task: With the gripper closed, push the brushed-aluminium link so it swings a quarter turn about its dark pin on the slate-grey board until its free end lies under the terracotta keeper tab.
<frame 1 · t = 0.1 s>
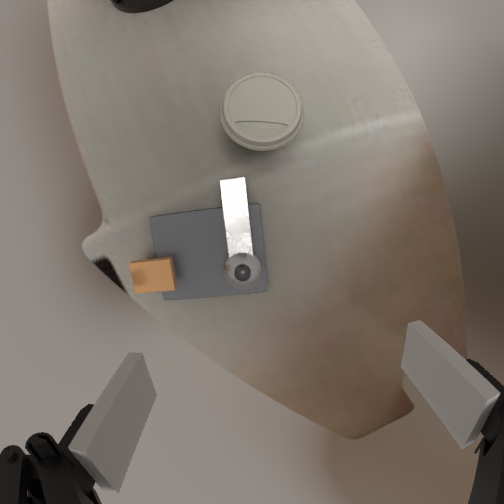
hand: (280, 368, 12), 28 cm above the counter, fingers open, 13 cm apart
coffee cup: (258, 130, 36), on the counter
link: (238, 234, 35), point 3 cm above the counter, hinge at 0.0°
board: (209, 252, 39), on the counter
keeper: (154, 265, 40), on the counter
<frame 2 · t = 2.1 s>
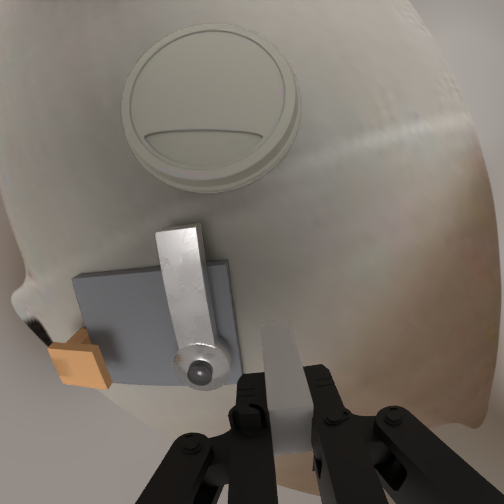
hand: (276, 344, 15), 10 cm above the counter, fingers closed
coffee cup: (226, 139, 22), on the counter
link: (191, 317, 21), point 4 cm above the counter, hinge at 0.0°
board: (158, 327, 25), on the counter
keeper: (90, 336, 26), on the counter
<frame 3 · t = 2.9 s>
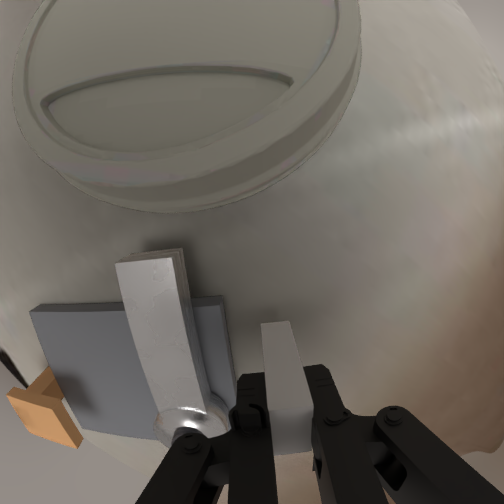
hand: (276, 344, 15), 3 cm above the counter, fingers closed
coffee cup: (220, 126, 15), on the counter
link: (173, 377, 14), point 3 cm above the counter, hinge at 0.0°
board: (136, 375, 19), on the counter
keeper: (59, 376, 19), on the counter
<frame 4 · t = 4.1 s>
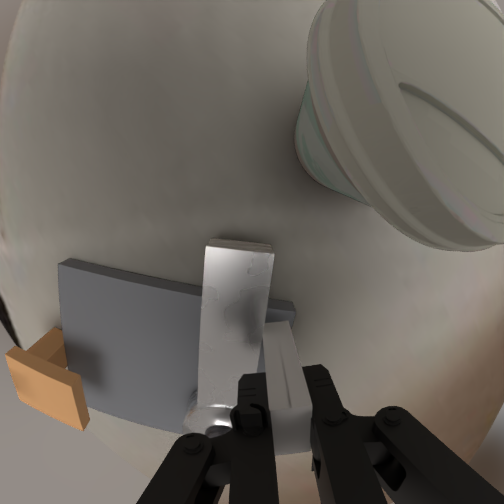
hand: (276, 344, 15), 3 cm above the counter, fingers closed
coffee cup: (341, 143, 15), on the counter
link: (226, 374, 14), point 3 cm above the counter, hinge at 3.8°, touching gripper
board: (164, 360, 18), on the counter
keeper: (64, 341, 18), on the counter
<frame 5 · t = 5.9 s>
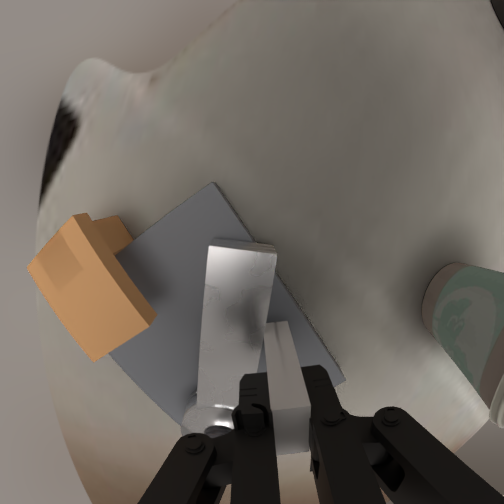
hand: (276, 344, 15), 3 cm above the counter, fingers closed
coffee cup: (447, 298, 18), on the counter
link: (226, 374, 14), point 4 cm above the counter, hinge at 48.5°, touching gripper
board: (207, 337, 18), on the counter
keeper: (115, 237, 16), on the counter
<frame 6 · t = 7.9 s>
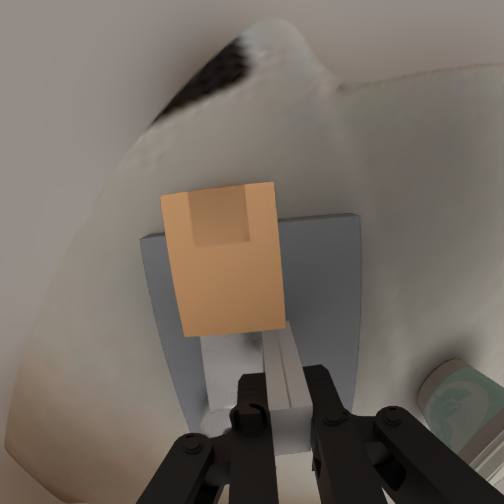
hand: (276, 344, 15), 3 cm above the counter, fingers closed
coffee cup: (440, 384, 20), on the counter
link: (234, 374, 14), point 3 cm above the counter, hinge at 85.4°, touching gripper
board: (261, 340, 18), on the counter
keeper: (229, 207, 16), on the counter
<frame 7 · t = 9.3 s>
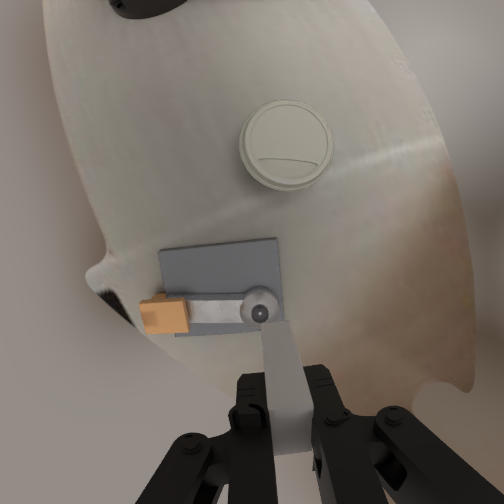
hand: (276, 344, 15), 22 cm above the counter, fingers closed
coffee cup: (276, 157, 34), on the counter
link: (222, 310, 34), point 4 cm above the counter, hinge at 85.4°
board: (223, 288, 37), on the counter
keeper: (163, 300, 38), on the counter
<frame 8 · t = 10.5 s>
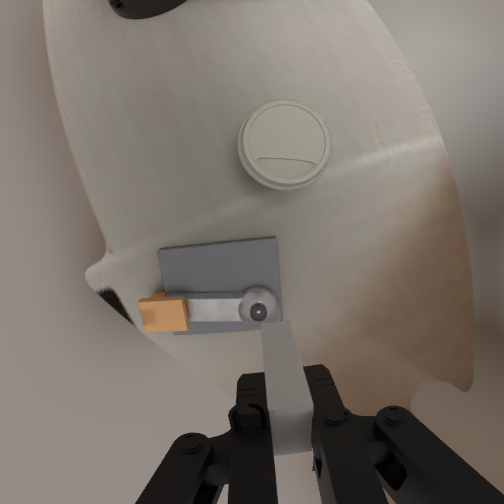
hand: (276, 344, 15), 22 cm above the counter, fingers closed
coffee cup: (274, 157, 34), on the counter
link: (220, 308, 34), point 4 cm above the counter, hinge at 85.4°
board: (221, 286, 37), on the counter
keeper: (162, 298, 38), on the counter
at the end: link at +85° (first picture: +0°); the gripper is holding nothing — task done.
